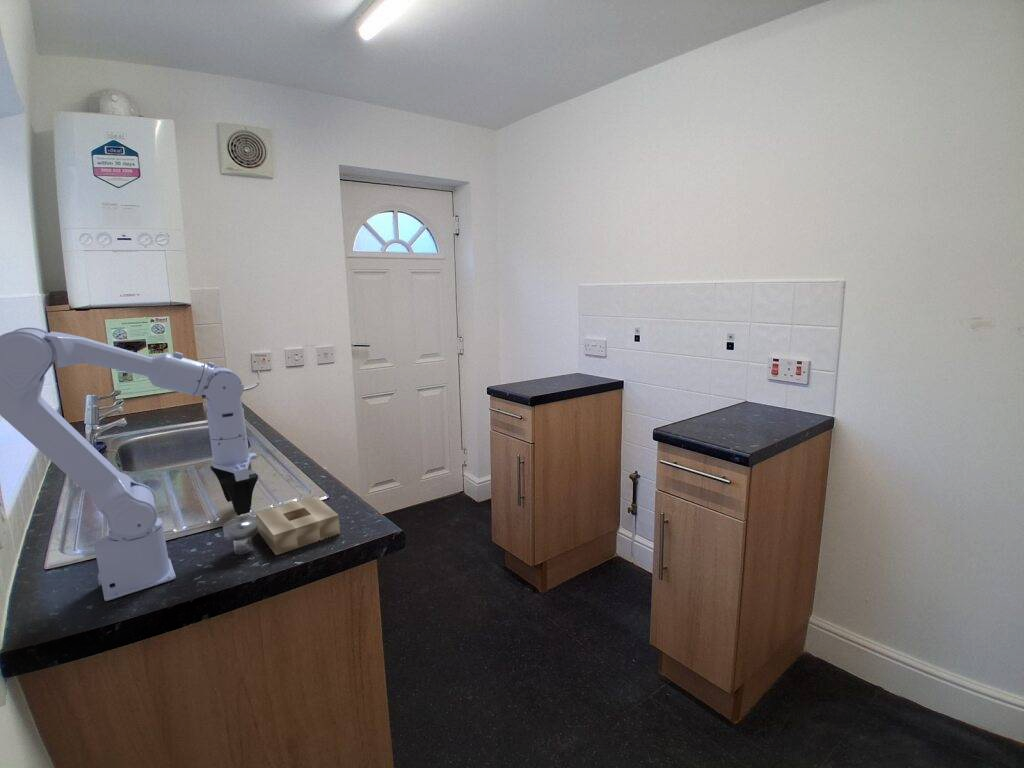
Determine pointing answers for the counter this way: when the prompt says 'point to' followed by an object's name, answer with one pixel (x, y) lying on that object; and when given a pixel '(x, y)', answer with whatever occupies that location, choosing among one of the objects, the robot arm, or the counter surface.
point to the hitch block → (297, 524)
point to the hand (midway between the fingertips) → (238, 506)
